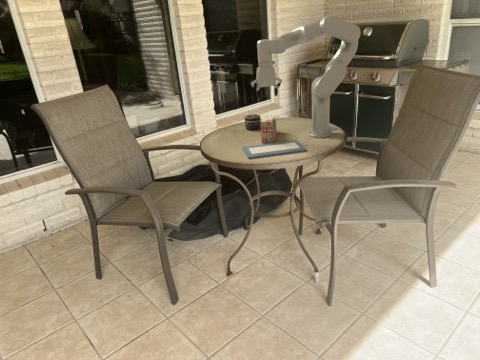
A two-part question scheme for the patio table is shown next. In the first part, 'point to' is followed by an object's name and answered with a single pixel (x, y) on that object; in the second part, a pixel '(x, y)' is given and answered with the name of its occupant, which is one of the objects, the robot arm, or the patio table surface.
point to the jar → (252, 122)
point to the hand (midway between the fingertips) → (267, 96)
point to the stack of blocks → (268, 129)
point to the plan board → (273, 149)
